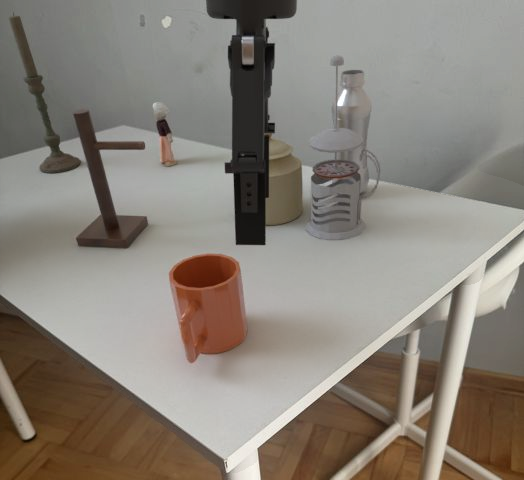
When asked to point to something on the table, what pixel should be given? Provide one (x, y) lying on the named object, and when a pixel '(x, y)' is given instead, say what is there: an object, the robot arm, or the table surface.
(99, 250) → the table surface
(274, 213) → the sugar bowl
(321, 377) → the table surface
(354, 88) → the silver metal bottle
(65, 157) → the candlestick holder
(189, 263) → the mug
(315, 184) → the french press
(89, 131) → the mug stand
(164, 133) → the grandmother figurine
